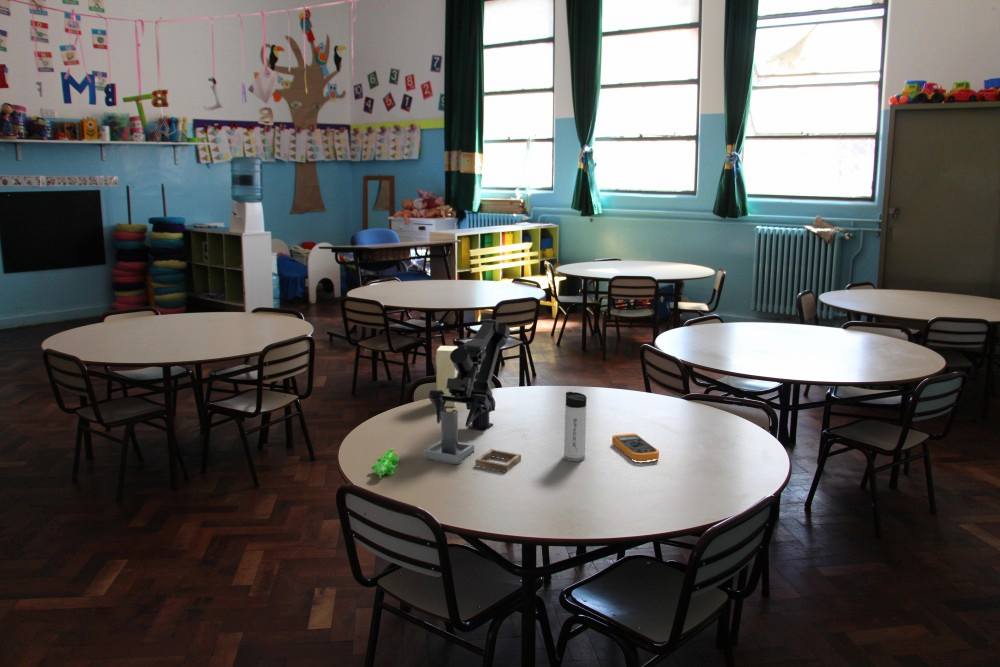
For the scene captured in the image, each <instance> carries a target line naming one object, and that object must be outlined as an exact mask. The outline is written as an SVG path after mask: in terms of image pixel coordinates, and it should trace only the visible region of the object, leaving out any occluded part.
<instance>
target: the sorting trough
mask: <svg viewBox="0 0 1000 667" xmlns="http://www.w3.org/2000/svg"><path fill="white" fill-rule="evenodd" d="M472 453H473V454H475V445H474V444H470V443H466V442H465V443H464V442H459V441H458V454H456V455H452V454H447V453H442V452H441V440H439V441H437V442H435V443H434V444H432V445H431V446H429V447H427V448H426V449H425V450H424V453H423V454H424V455H423V456H424V458H423V459H425V458H427V459H426V460H430V459H432V460H431V461H435V460H437V461H436V462H440V461H441V463H445V462H446V464H450V463H452V464H451V465H455V464H457V465H458V463H459V462H460V463H461V462H463V461H465V460H466V459H468V458H469V457H470V456H472V455H473V454H472ZM471 454H472V455H471ZM468 456H469V457H468ZM465 458H466V459H465ZM462 460H463V461H462ZM460 463H459V464H460Z"/></svg>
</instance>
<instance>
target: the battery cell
mask: <svg viewBox="0 0 1000 667" xmlns="http://www.w3.org/2000/svg"><path fill="white" fill-rule="evenodd" d="M453 408H454V407H445V409H444V410H443V411H441V421H440V441H441V452H442V453H447V454H452V455H456V454H458V442H459V438H458V437H459V426H458V424H459V418H458V417H459V414H458V413H459V412H458V410H456V409H453Z"/></svg>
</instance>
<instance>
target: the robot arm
mask: <svg viewBox="0 0 1000 667" xmlns="http://www.w3.org/2000/svg"><path fill="white" fill-rule="evenodd" d="M510 334H511V328H510V327H509V326H508V325H507V324H504V323H502V322H499V320H496V319H487V318H485V319H482V322H481V326H480V327H479V329H478V330H477V332H476V334H474V336H473V338H472V339H469V340H467V341H465V343H464V344H459V346H458V348H457V349H455V350H453V351H452V353H451V354H450V359H451V361H452V363H453V365H454V367H455V369H456V370H457V371H458V373H457V376H456V378H454V379H452V378H448V379H447V386H446V389H449V393H451V395H445V394H444V393H443V391H442V390H437V389H433V388H432V389H431V390H429V392H428V394H427V397H428V399H429V400H430V402H431V404H432V405H434V406H435V410H436V412H435V413H436V422H437V424H441V411H443V410H446V407H445V406H444V404H445V403H446V401H449V402H457V404H459V403H460V404H465V406H466V410H469V412H468V415H467V417H466V421H465V428H470V429H475V430H479V431H486V430H488V429H490V428H491V427H493V426H494V423H492V422H490V413H491V412H495V410H496V400H495V398H494V396H493V391H492V388H491V382H492V378H493V375H494V372H495V367H496V363H497V359H498V357H499V353H500V351H501V349H502V348H503V347H505V346H506V344H507V341H508V339H509V337H510ZM476 364H480V366H479V370H478V367H477V365H476ZM476 375H477V378H476ZM475 379H476V380H475Z"/></svg>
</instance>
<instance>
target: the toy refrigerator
mask: <svg viewBox="0 0 1000 667" xmlns="http://www.w3.org/2000/svg"><path fill="white" fill-rule="evenodd" d="M457 348H459V346H458V345H440V346H439V347H438V348H437V349H436V355H435V366H436V375H435V376H436V379H435V380H436V390H442V391H443V393H444V394H445V395H451V393H449V389H446V386H447V379H448V378H452V379H454V378H456V376H457V373H458V371H457V370H456V369H455V367H454V365H453V363H452V361H451V359H450V354H451V353H452V351H453V350H455V349H457ZM457 404H458V402H449V401H446V403H445V404H444V406H445V408H454V407H456V406H457Z"/></svg>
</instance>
